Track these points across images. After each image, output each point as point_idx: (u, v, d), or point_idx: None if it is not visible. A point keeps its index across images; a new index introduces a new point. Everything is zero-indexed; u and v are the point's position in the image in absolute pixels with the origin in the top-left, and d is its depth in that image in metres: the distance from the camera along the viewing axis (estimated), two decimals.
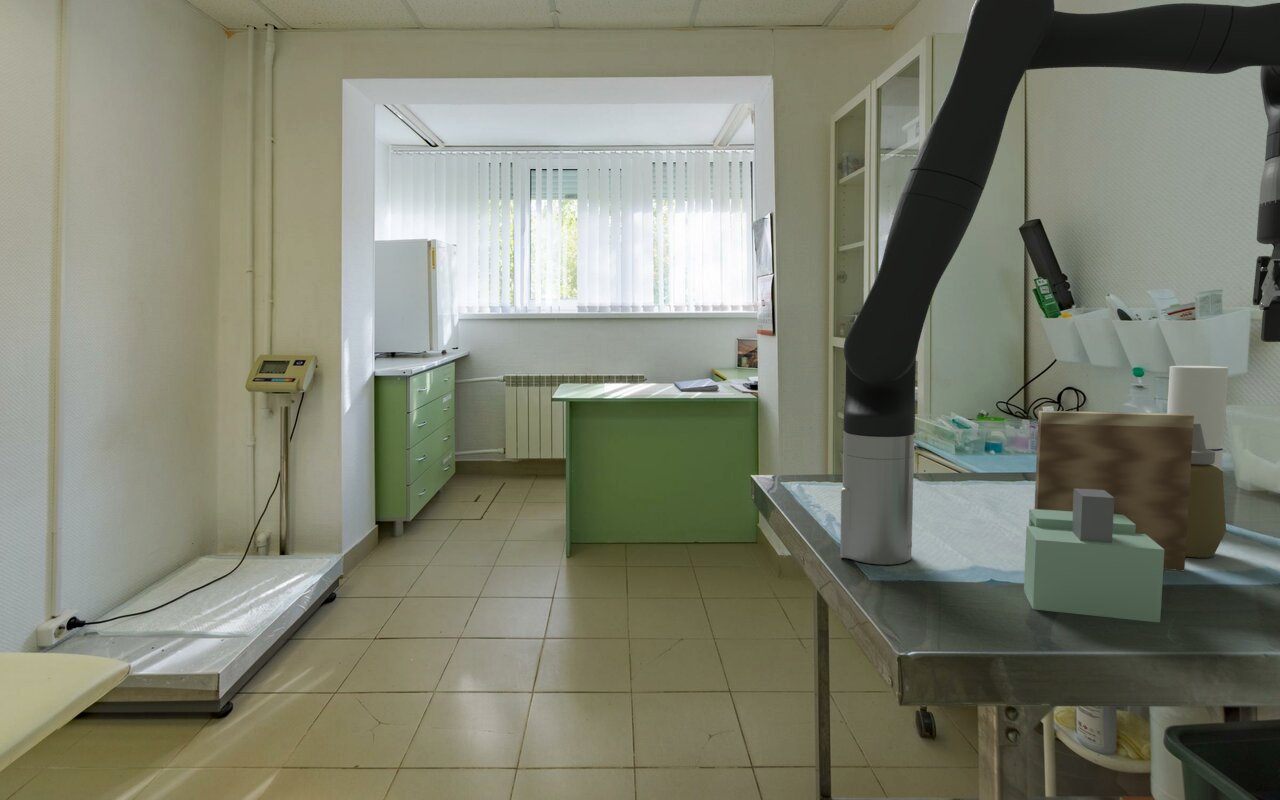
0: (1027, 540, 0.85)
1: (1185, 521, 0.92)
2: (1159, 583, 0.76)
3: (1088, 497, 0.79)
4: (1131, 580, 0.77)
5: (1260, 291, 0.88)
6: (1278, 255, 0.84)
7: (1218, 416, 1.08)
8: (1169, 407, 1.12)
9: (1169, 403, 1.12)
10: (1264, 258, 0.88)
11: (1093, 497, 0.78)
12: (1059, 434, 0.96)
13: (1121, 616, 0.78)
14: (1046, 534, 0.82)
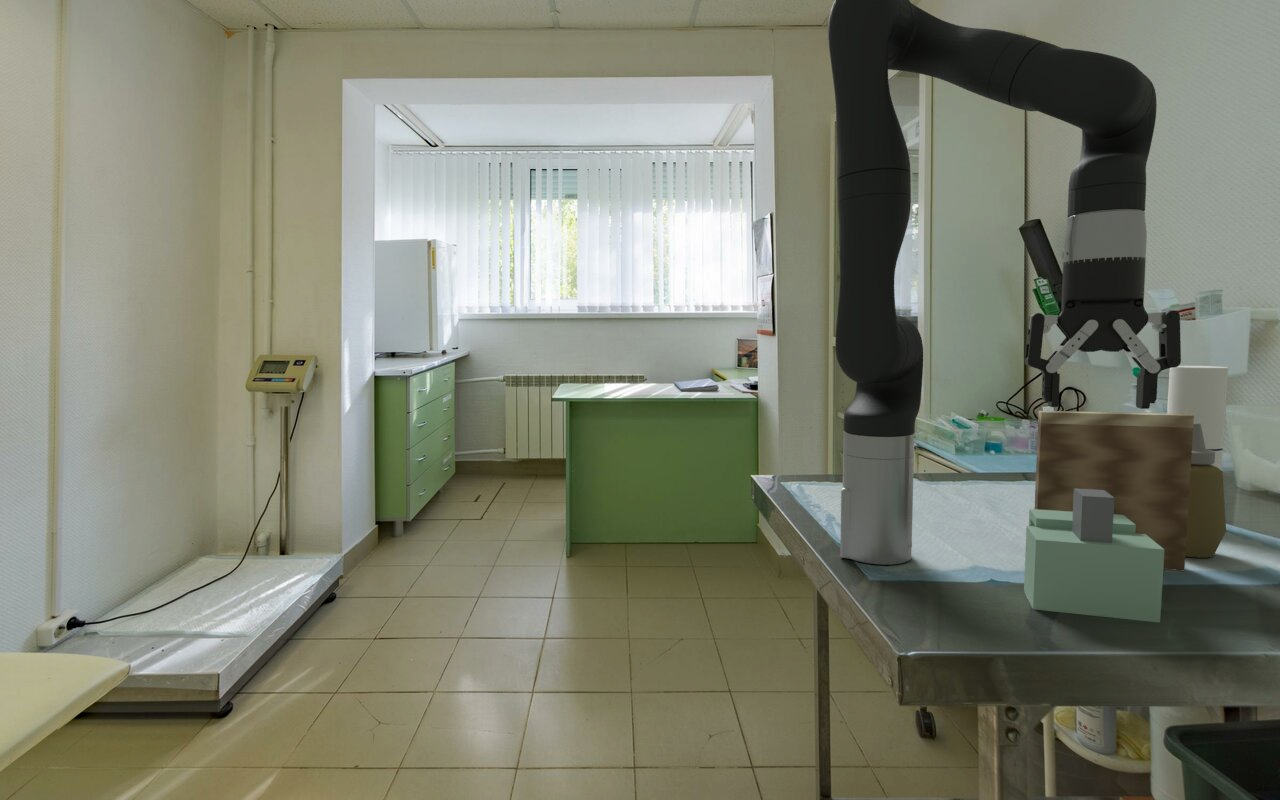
0: (1027, 540, 0.85)
1: (1185, 521, 0.92)
2: (1159, 583, 0.76)
3: (1088, 497, 0.79)
4: (1131, 580, 0.77)
5: (1040, 351, 0.80)
6: (1084, 315, 0.78)
7: (1218, 416, 1.08)
8: (1169, 407, 1.12)
9: (1169, 403, 1.12)
10: None
11: (1093, 497, 0.78)
12: (1059, 434, 0.96)
13: (1121, 616, 0.78)
14: (1046, 534, 0.82)
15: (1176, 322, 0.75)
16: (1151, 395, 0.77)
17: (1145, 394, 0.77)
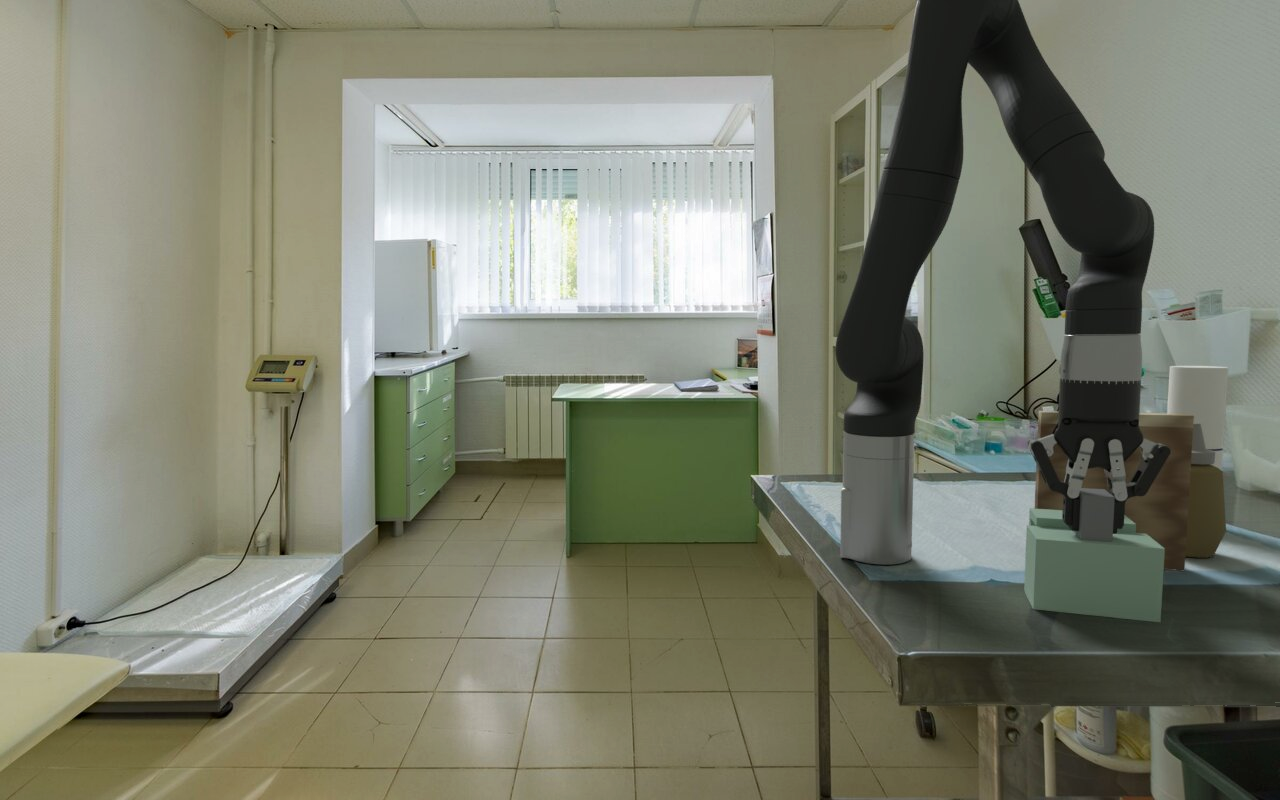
0: (1027, 539, 0.85)
1: (1185, 521, 0.92)
2: (1159, 582, 0.76)
3: (1088, 496, 0.79)
4: (1131, 580, 0.77)
5: (1056, 474, 0.80)
6: (1080, 432, 0.79)
7: (1218, 416, 1.08)
8: (1169, 407, 1.12)
9: (1169, 403, 1.12)
10: (1039, 442, 0.81)
11: (1093, 496, 0.78)
12: None
13: (1121, 615, 0.78)
14: (1047, 533, 0.82)
15: (1162, 458, 0.77)
16: (1119, 521, 0.79)
17: (1113, 520, 0.79)
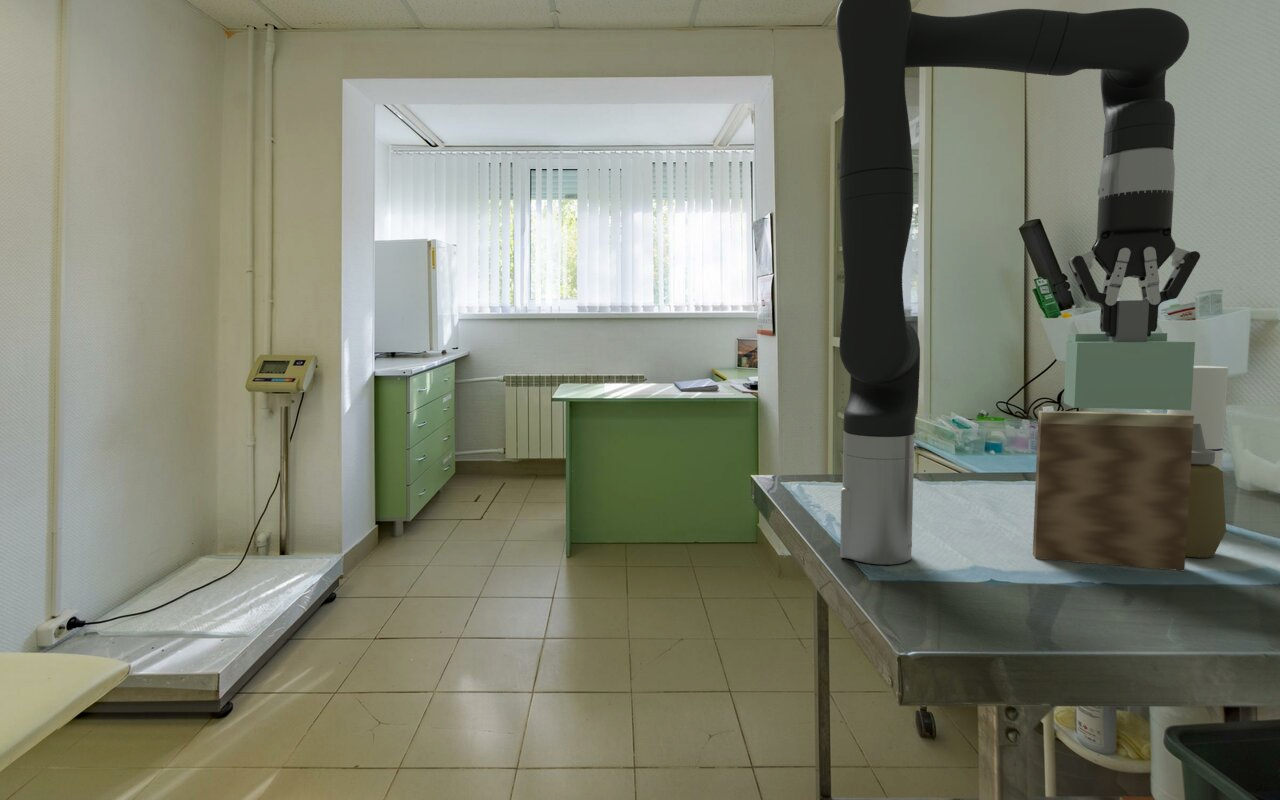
0: (1067, 353, 0.93)
1: (1185, 521, 0.92)
2: (1190, 373, 0.85)
3: (1125, 301, 0.87)
4: (1164, 373, 0.85)
5: (1095, 285, 0.89)
6: (1117, 244, 0.87)
7: (1218, 416, 1.08)
8: None
9: None
10: None
11: (1130, 301, 0.87)
12: (1059, 434, 0.96)
13: (1155, 407, 0.86)
14: None
15: (1193, 262, 0.85)
16: (1152, 324, 0.87)
17: None
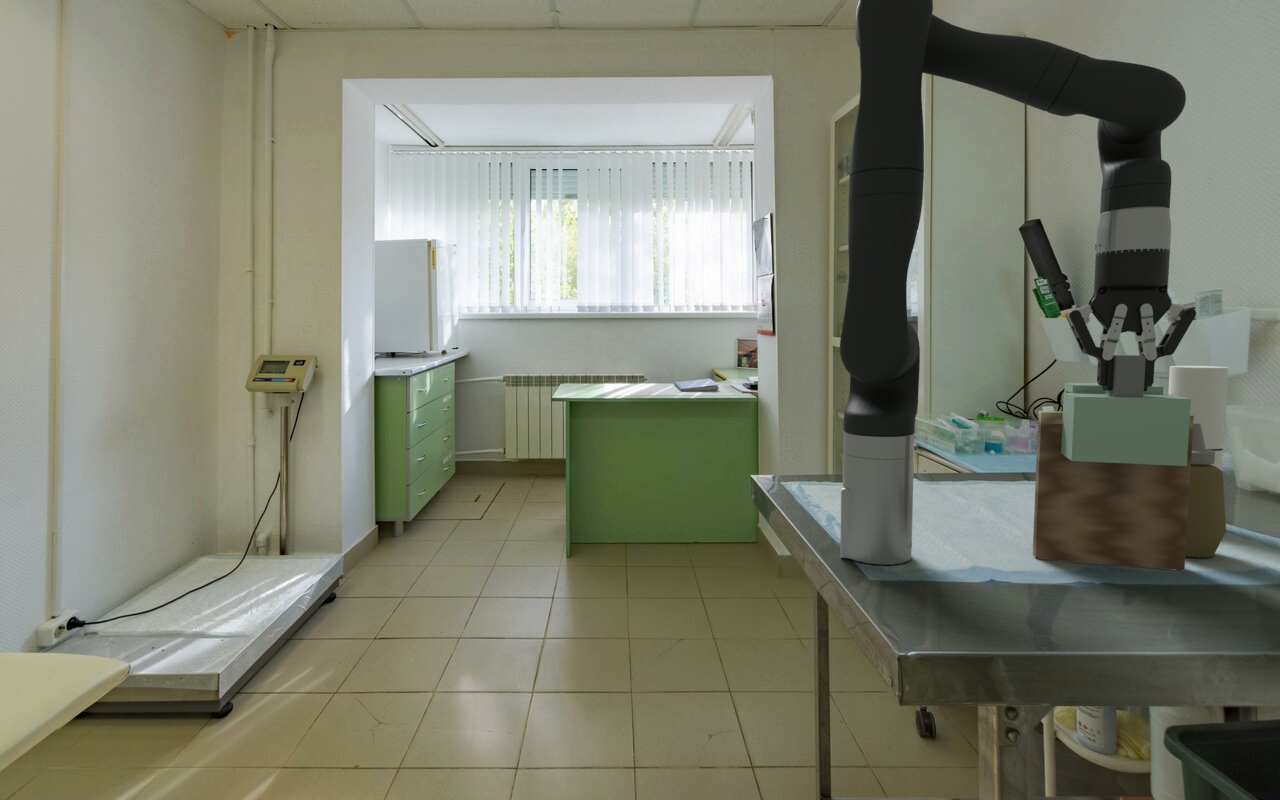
0: (1064, 404, 0.94)
1: (1185, 521, 0.92)
2: (1186, 430, 0.85)
3: (1122, 357, 0.88)
4: (1161, 429, 0.86)
5: (1092, 339, 0.89)
6: (1114, 300, 0.88)
7: (1218, 416, 1.08)
8: None
9: None
10: None
11: (1126, 356, 0.88)
12: (1059, 434, 0.96)
13: (1151, 462, 0.87)
14: (1083, 395, 0.91)
15: (1189, 320, 0.86)
16: (1149, 379, 0.88)
17: None
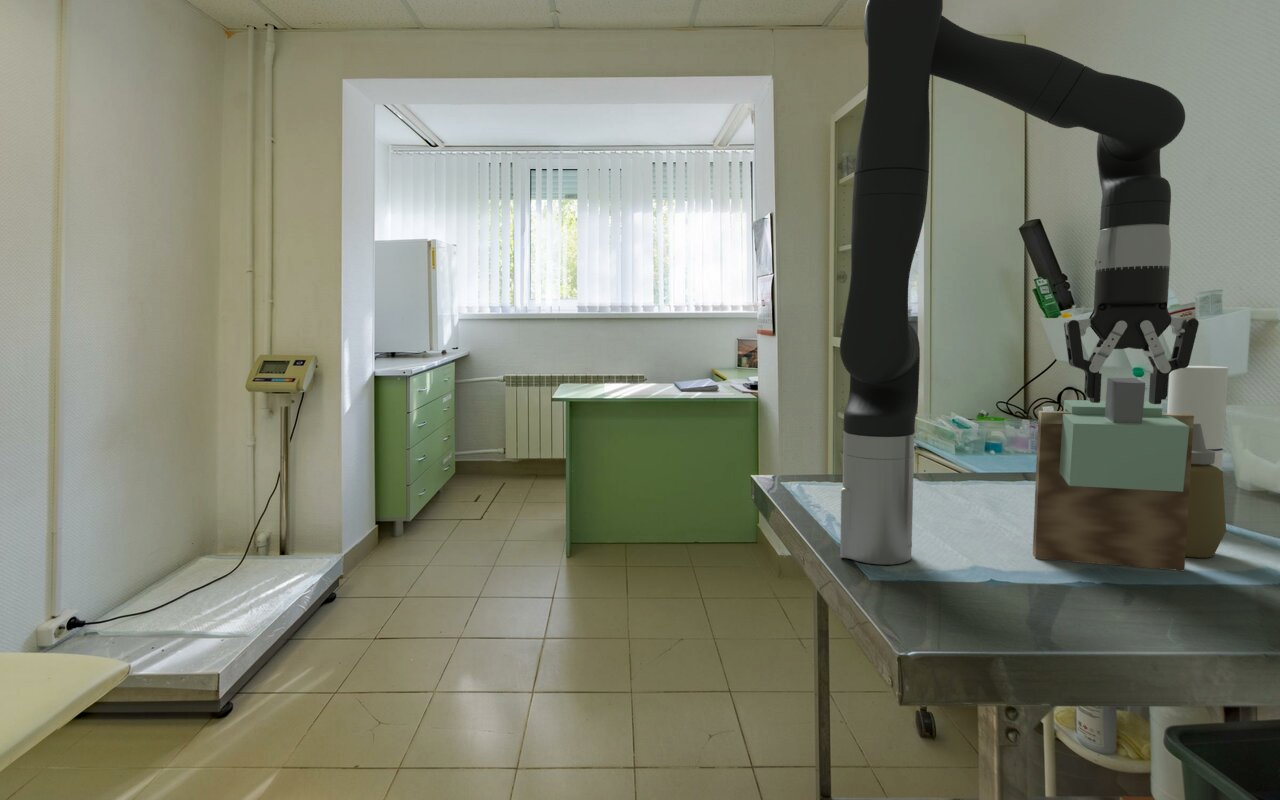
0: (1063, 426, 0.94)
1: (1185, 521, 0.92)
2: (1183, 456, 0.86)
3: (1122, 383, 0.88)
4: (1158, 455, 0.87)
5: (1082, 352, 0.90)
6: (1114, 316, 0.88)
7: (1218, 416, 1.08)
8: (1169, 407, 1.12)
9: (1169, 403, 1.12)
10: None
11: (1126, 383, 0.87)
12: (1059, 434, 0.96)
13: (1148, 487, 0.88)
14: (1082, 419, 0.91)
15: (1193, 330, 0.86)
16: (1162, 392, 0.88)
17: (1157, 391, 0.88)
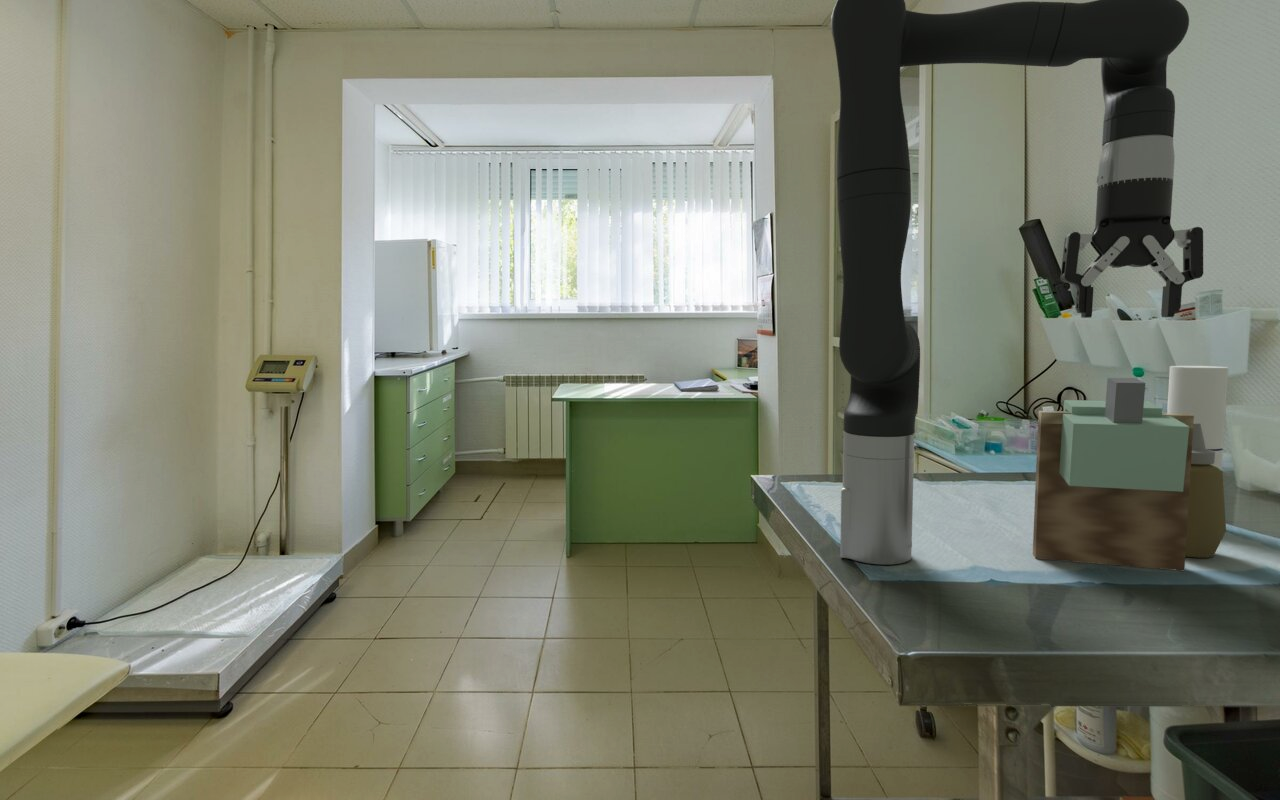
0: (1063, 426, 0.94)
1: (1185, 521, 0.92)
2: (1183, 456, 0.86)
3: (1122, 383, 0.88)
4: (1158, 455, 0.87)
5: (1076, 267, 0.88)
6: (1116, 233, 0.87)
7: (1218, 416, 1.08)
8: (1169, 407, 1.12)
9: (1169, 403, 1.12)
10: None
11: (1126, 383, 0.87)
12: (1059, 434, 0.96)
13: (1148, 487, 0.88)
14: (1082, 419, 0.91)
15: (1199, 238, 0.84)
16: (1176, 304, 0.86)
17: (1170, 303, 0.86)
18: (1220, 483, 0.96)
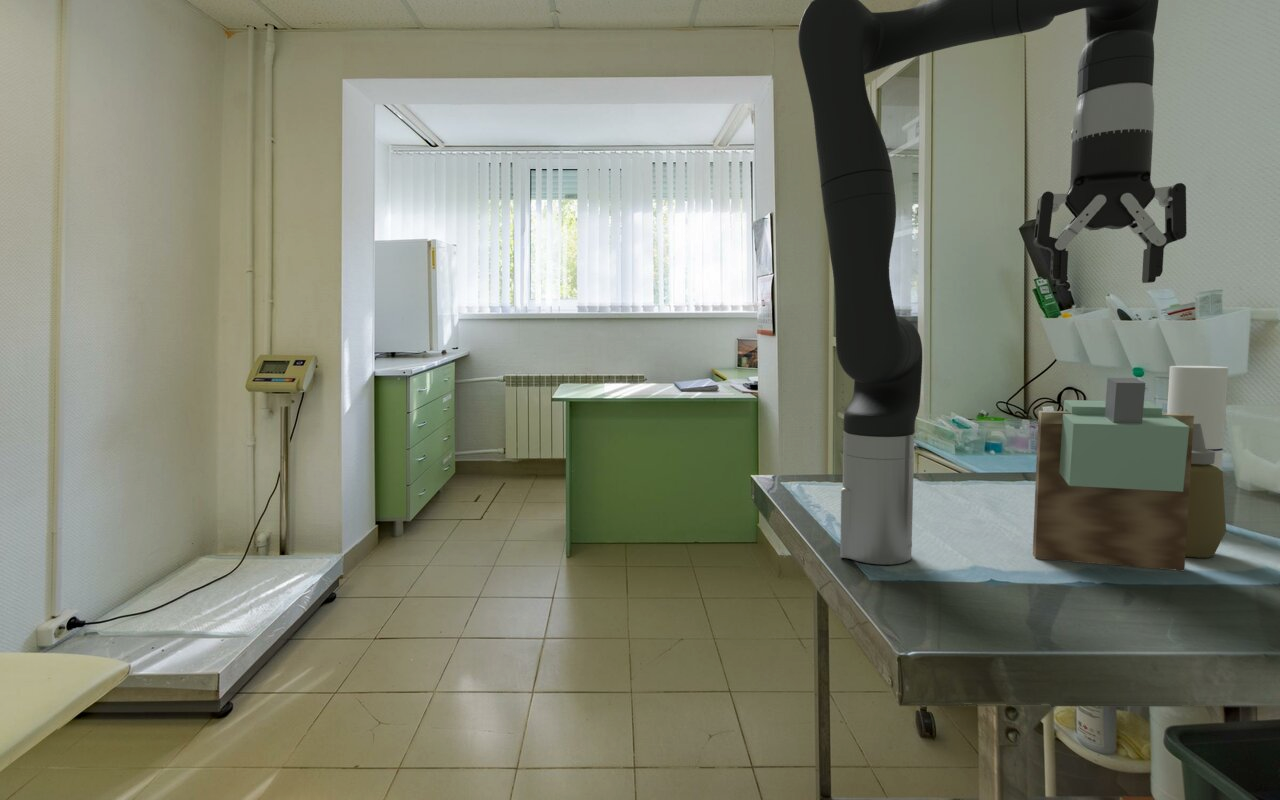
0: (1063, 426, 0.94)
1: (1185, 521, 0.92)
2: (1183, 456, 0.86)
3: (1122, 383, 0.88)
4: (1158, 455, 0.87)
5: (1049, 229, 0.82)
6: (1092, 191, 0.80)
7: (1218, 416, 1.08)
8: (1169, 407, 1.12)
9: (1169, 403, 1.12)
10: None
11: (1126, 383, 0.87)
12: (1059, 434, 0.96)
13: (1148, 487, 0.88)
14: (1082, 419, 0.91)
15: (1182, 195, 0.77)
16: (1157, 268, 0.79)
17: (1151, 267, 0.79)
18: (1220, 483, 0.96)
